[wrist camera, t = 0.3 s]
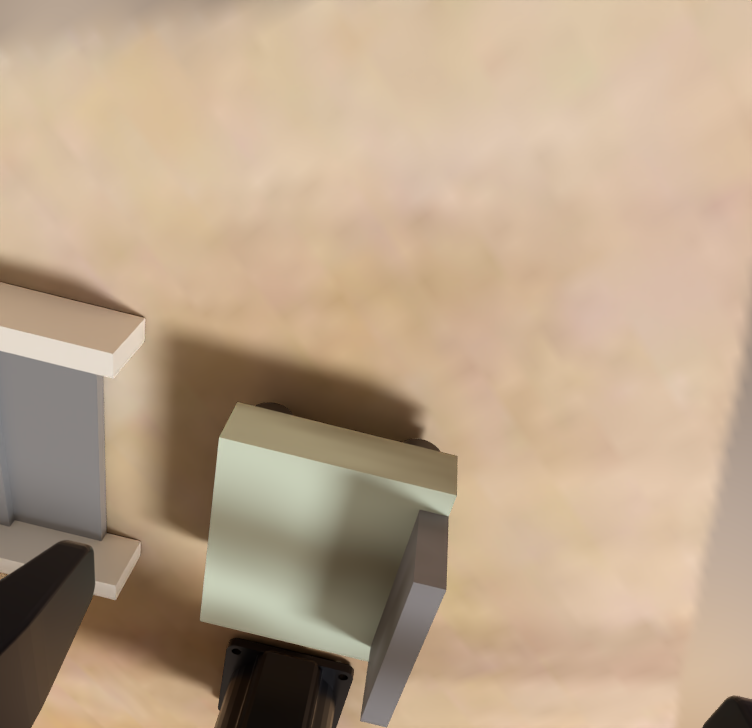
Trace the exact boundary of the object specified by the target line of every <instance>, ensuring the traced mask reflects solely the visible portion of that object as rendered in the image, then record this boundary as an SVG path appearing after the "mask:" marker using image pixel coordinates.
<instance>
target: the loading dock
mask: <svg viewBox="0 0 752 728" xmlns="http://www.w3.org/2000/svg"><path fill="white" fill-rule="evenodd" d="M144 342H145V318H143V317H139V316H135V315H131V314H127V313H123V312H119V311H115V310H111V309H107V308H103V307H99V306H95V305H91V304H86V303H82V302H78V301H74V300H70V299H66V298H62V297H58V296H54V295H50V294H46V293H42V292H38V291H34V290H30V289H26V288H22V287H18V286H14V285H10V284H6V283H2V282H0V572H1V573H5V574H10V573H12V572H13V571H15V570H16V569H18V568H19V567H21V566H22V565H24V564H25V563H27V562H28V561H30V560H31V559H33V558H34V557H36V556H37V555H39V554H40V553H42V552H43V551H45V550H46V549H48V548H49V547H51V546H52V545H54V544H55V543H57V542H59V541H62V540H71V541H75V542H80V543H84V544H88V545H90V546H91V547H92V548H93V550H94V562H95V589H94V593H93V595H96V596H100V597H105V598H109V599H113V600H116V599H117V597H118V596H119V594H120V592H121V590H122V588H123V586H124V585H125V583H126V581H127V579H128V577H129V575H130V574H131V572H132V570H133V568H134V566H135V565H136V563H137V561H138V559H139V557H140V552H141V541H138V540H134V539H129V538H125V537H121V536H117V535H113V534H109V533H107V525H106V480H105V436H104V391H103V376H105V377H109V378H114V377H115V376H116V375H117V374H118V372H119V371H120V370H121V369H122V368H123V367H124V365H125V364H126V363H127V362H128V361H129V359H130V358H131V357H132V356H133V355H134V354H135V352H136V351H137V350H138V349H139V348H140V346H141V345H142V344H143V343H144Z"/></svg>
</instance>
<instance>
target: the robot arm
mask: <svg viewBox="0 0 752 728" xmlns="http://www.w3.org/2000/svg"><path fill="white" fill-rule="evenodd" d="M94 589H95V562H94V550H93V548H92V547H91V546H90V545H88V544H84V543H80V542H75V541H71V540H62V541H59V542H57V543H55V544H54V545H52V546H51V547H49V548H48V549H46V550H45V551H43V552H42V553H40V554H39V555H37V556H36V557H34V558H33V559H31V560H30V561H28V562H27V563H25V564H24V565H22V566H21V567H19V568H18V569H16V570H15V571H13V572H12V573H10V574H9V575H7V576H6V577H4V578H3V579H1V580H0V728H31V727H32V725H33V723H34V721H35V719H36V718H37V716H38V714H39V712H40V710H41V708H42V706H43V704H44V702H45V700H46V698H47V696H48V694H49V692H50V690H51V687H52V685H53V683H54V681H55V679H56V676H57V674H58V672H59V670H60V668H61V665H62V663H63V661H64V659H65V657H66V654H67V652H68V650H69V648H70V646H71V643H72V641H73V639H74V637H75V635H76V633H77V630H78V628H79V626H80V624H81V622H82V619H83V617H84V615H85V613H86V611H87V608H88V606H89V604H90V602H91V599H92V596H93V593H94ZM353 675H354V669H353V668H352V667H351V666H349V665H346V664H342V663H338V662H334V661H330V660H326V659H322V658H318V657H313V656H309V655H305V654H301V653H297V652H293V651H288V650H284V649H280V648H276V647H272V646H268V645H264V644H259V643H255V642H251V641H247V640H243V639H238V638H235V639H231V640H230V642H229V644H228V647H227V651H226V657H225V664H224V671H223V677H222V684H221V691H220V698H219V704H218V709H219V710H220V712H219V715H218V718H217V721H216V724H215V727H214V728H336V726H337V723H338V721H339V718H340V715H341V712H342V709H343V706H344V703H345V700H346V698H347V695H348V692H349V689H350V686H351V683H352V680H353ZM703 728H752V699H748V698H744V697H740V696H731V697H728V698H727V699H726V700H725V701H724V702H723V703H722V704H721V705H720V707H719V708H718V709H717V710H716V711H715V712H714V713H713V714H712V715H711V717H710V718H709V719H708V720H707V721H706V722H705V724H704V725H703Z"/></svg>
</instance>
